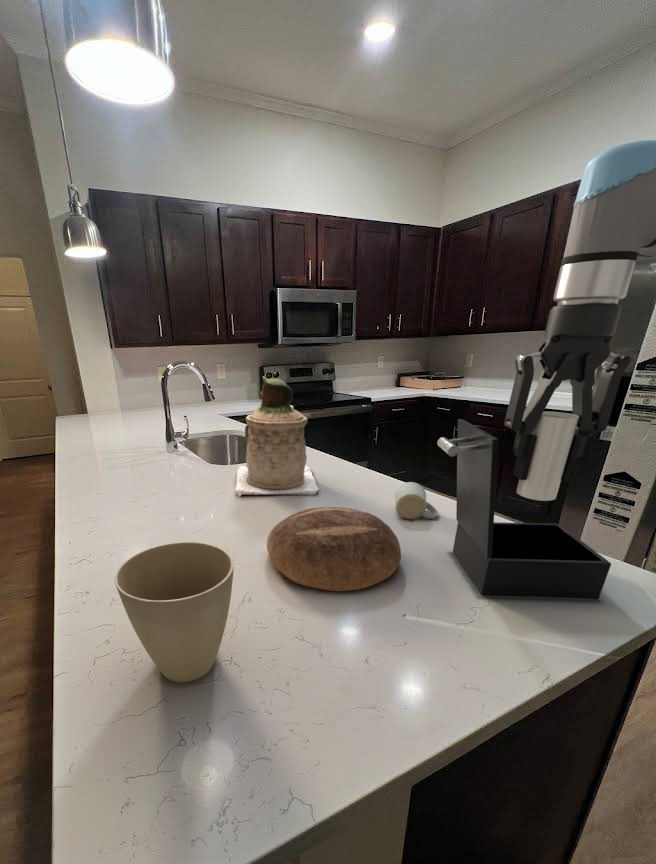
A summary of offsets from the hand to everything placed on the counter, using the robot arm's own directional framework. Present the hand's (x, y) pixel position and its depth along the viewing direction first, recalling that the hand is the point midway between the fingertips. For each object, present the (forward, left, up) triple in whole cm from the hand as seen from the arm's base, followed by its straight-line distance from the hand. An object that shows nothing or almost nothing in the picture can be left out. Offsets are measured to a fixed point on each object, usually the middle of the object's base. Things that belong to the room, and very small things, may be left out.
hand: (540, 477), depth 62 cm
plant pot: (+45, +30, -23) cm, 59 cm away
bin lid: (+7, -8, -5) cm, 12 cm away
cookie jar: (+59, -47, -23) cm, 79 cm away
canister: (0, 0, -3) cm, 3 cm away
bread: (+32, -6, -23) cm, 40 cm away
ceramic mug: (+17, -35, -23) cm, 45 cm away
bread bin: (-3, -11, -23) cm, 26 cm away
